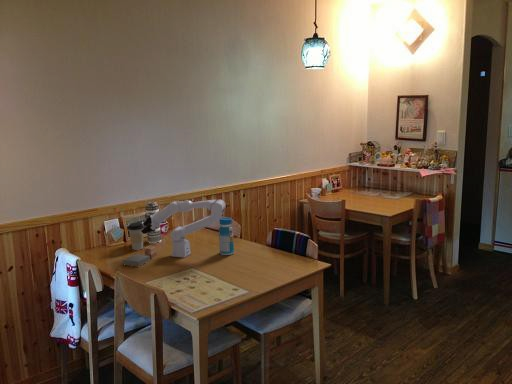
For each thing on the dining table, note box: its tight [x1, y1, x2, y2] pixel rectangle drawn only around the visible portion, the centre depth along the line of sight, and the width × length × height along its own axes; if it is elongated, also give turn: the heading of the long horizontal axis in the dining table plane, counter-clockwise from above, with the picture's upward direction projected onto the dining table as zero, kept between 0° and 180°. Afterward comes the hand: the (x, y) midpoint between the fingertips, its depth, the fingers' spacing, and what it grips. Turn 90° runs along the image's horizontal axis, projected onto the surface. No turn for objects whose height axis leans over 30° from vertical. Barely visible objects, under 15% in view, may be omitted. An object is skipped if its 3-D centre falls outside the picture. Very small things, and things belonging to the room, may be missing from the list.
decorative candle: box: [144, 201, 163, 244], centre depth 287 cm, size 9×9×25 cm
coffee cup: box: [127, 222, 145, 251], centre depth 274 cm, size 9×9×15 cm
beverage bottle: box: [218, 216, 235, 256], centre depth 260 cm, size 8×8×20 cm
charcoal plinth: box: [122, 253, 151, 267], centre depth 251 cm, size 10×10×3 cm
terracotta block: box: [143, 245, 157, 260], centre depth 259 cm, size 4×4×6 cm
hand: (143, 228), depth 263 cm, fingers open, 7 cm apart
